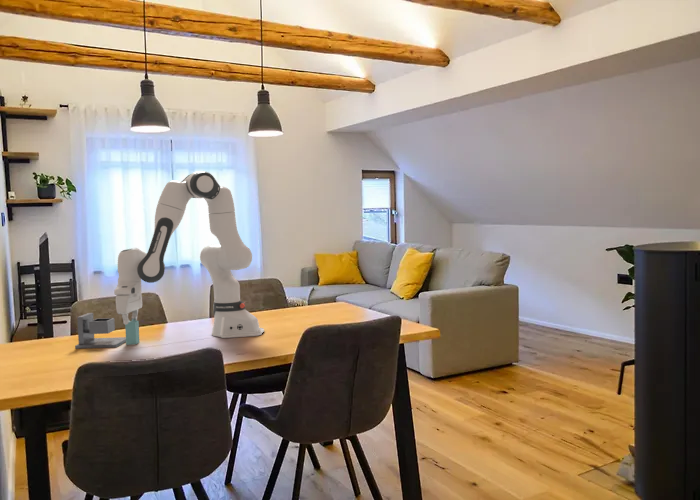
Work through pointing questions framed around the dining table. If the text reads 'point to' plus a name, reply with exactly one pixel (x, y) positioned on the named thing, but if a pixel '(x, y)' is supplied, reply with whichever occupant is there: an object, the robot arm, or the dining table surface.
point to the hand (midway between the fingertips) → (130, 322)
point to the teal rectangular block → (132, 332)
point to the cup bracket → (96, 332)
